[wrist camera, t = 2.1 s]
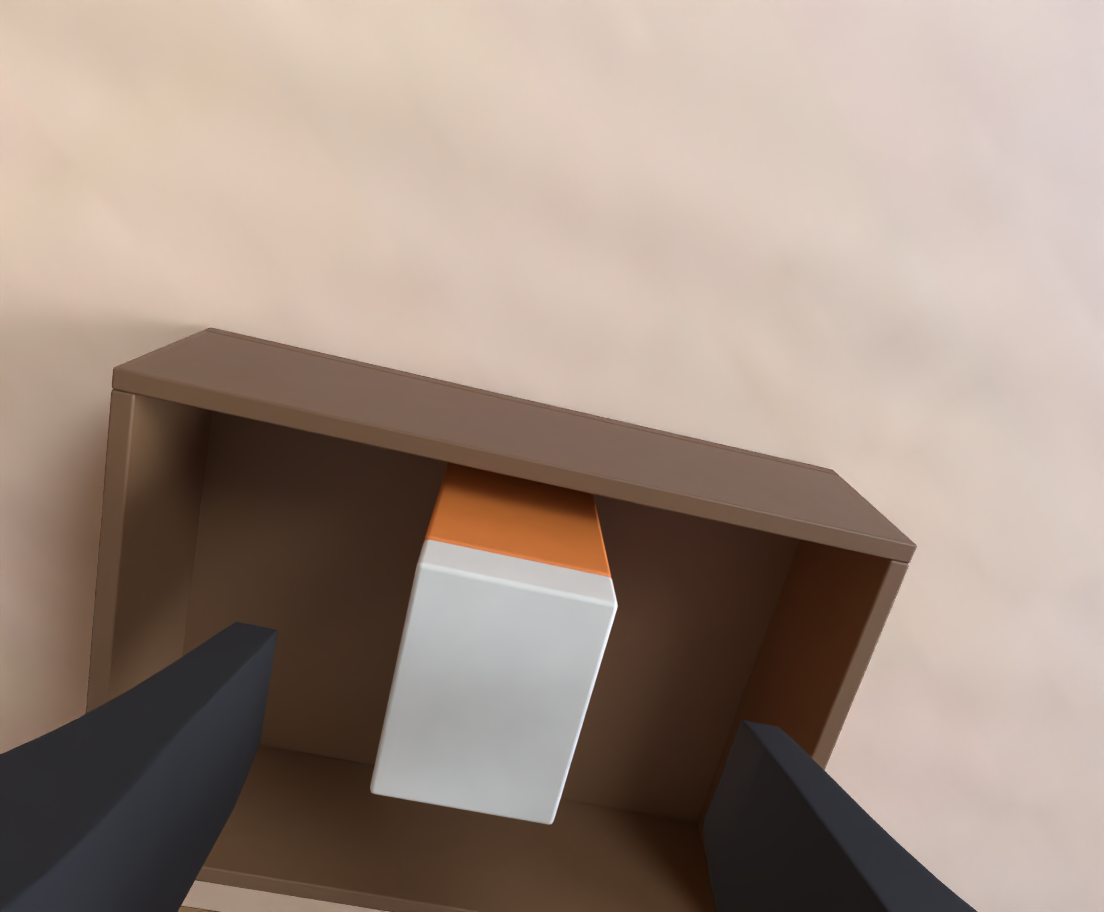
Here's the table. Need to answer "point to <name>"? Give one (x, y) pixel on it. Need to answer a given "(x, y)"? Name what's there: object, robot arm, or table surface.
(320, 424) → the carton
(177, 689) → the robot arm
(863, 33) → the table surface
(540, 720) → the tea packet
